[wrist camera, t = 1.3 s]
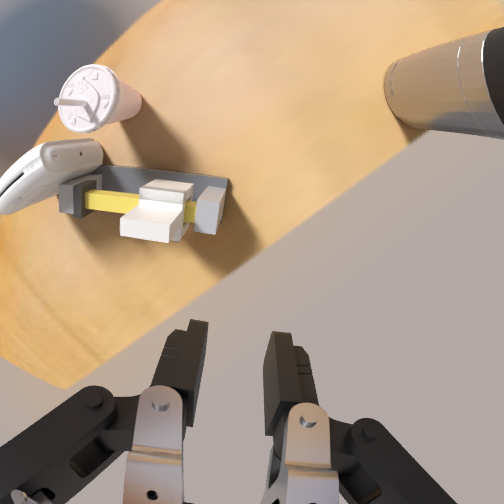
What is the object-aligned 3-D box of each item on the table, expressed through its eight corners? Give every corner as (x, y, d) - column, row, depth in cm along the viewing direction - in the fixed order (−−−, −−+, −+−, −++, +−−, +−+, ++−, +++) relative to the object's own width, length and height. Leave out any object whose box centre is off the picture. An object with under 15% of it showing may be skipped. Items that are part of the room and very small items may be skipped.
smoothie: (111, 138, 29) (36, 150, 16) (99, 91, 27) (22, 82, 14) (159, 118, 28) (97, 113, 16) (146, 69, 26) (82, 40, 13)
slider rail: (228, 178, 31) (220, 193, 24) (222, 220, 33) (213, 247, 26) (93, 163, 30) (55, 175, 23) (92, 202, 32) (56, 223, 25)
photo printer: (97, 132, 29) (30, 137, 17) (109, 163, 30) (45, 180, 19) (44, 171, 30) (-21, 191, 19) (55, 198, 32) (-8, 227, 20)
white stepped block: (194, 183, 27) (171, 205, 20) (189, 225, 29) (167, 261, 21) (155, 179, 27) (120, 198, 19) (152, 220, 29) (120, 253, 21)
